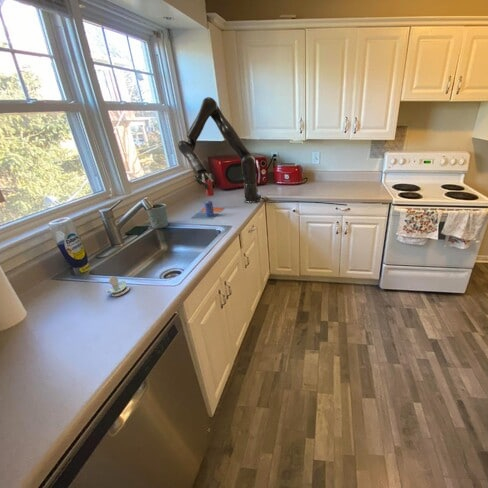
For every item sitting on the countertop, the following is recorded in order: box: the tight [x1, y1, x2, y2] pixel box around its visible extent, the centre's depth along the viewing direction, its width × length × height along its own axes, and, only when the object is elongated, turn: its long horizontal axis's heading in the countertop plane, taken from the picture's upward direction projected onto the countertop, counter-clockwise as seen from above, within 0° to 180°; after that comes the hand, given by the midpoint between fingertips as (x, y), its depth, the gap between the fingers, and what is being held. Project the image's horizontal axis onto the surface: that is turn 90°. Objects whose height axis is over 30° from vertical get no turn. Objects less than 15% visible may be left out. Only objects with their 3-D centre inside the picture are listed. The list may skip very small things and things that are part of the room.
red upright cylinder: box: [205, 180, 215, 197], centre depth 185 cm, size 5×5×9 cm
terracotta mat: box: [201, 206, 225, 213], centre depth 191 cm, size 13×9×1 cm
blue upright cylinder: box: [204, 200, 215, 218], centre depth 177 cm, size 5×5×9 cm
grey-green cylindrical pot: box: [146, 203, 169, 229], centre depth 161 cm, size 10×10×12 cm
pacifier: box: [104, 275, 131, 297], centre depth 101 cm, size 7×6×6 cm
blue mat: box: [191, 212, 219, 219], centre depth 179 cm, size 13×10×1 cm
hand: (211, 187), depth 184 cm, fingers closed on red upright cylinder, 4 cm apart
